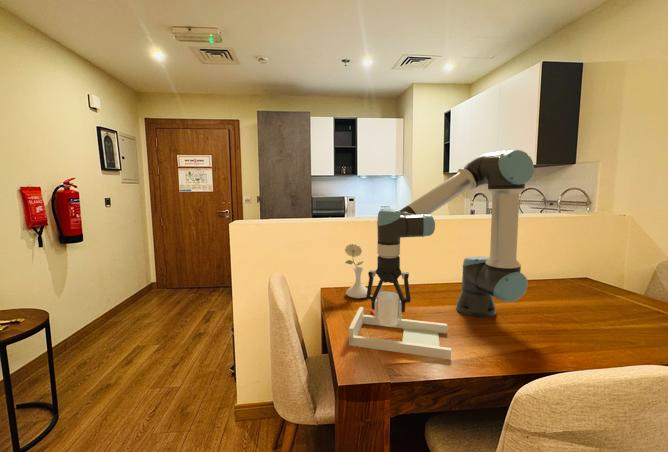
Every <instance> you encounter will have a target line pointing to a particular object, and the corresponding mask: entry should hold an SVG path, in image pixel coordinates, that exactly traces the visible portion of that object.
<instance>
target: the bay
mask: <svg viewBox="0 0 668 452" xmlns="http://www.w3.org/2000/svg"><path fill="white" fill-rule="evenodd" d="M364 309H365V308H364V307H363V306H359V308H358V310H357V312H356V314H355V315H354V317H353V319H352V321H351V323H350V325H349V327H348V346H349V347H350V346H351V347H357V346H358V348H364V349H365V348H366V349H373V350H379V351H386V352H394V353H402V354H408V355H415V356H422V357H423V356H424V357H429V358H430V357H431V358H436V359H437V358H438V359H444V360H449V361H451V360H452V348H451V347H448V346H447V347H446V346H440V338H439V334H448V324H447V323H444V322H443V323H442V322H432V321H425V320H424V321H422V320H414V319H406V318H405V319H404V318H402V321H401V322H399V318H398V324H397V325H396V326H393V327H392V328H398V329H403V335H402V341H400V340H393V339H386V338H377V337H368V336H361V335H359V334H360V331H361V329H362V326H363V325H371V326H372V325H373V326H379V327H380V326H381V327H383V326H382V325H380V324H379V322H378V318H377V320H375V316H373V314H372V315H371V314H365V313H364V312H365V311H364Z"/></svg>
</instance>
